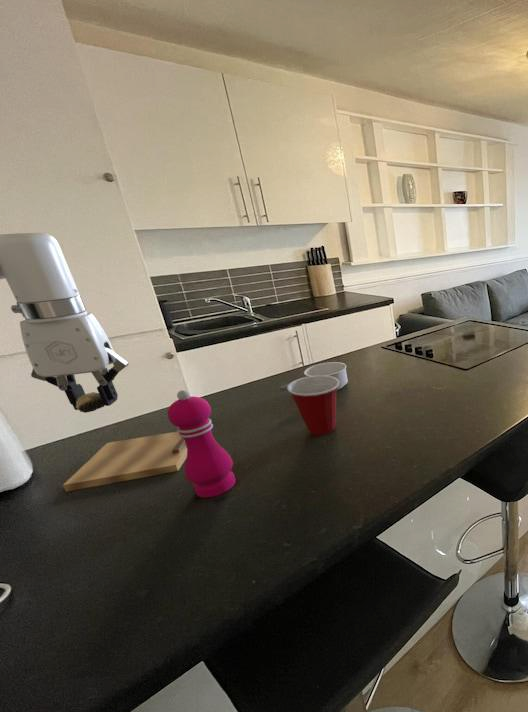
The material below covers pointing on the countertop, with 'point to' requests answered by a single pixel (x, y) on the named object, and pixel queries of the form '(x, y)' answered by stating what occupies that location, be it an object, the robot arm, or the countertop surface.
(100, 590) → the countertop surface
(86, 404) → the brown rounded domed piece
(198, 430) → the pepper mill
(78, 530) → the countertop surface
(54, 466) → the countertop surface
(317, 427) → the plastic cup
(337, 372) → the saucepan
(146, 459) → the serving board
